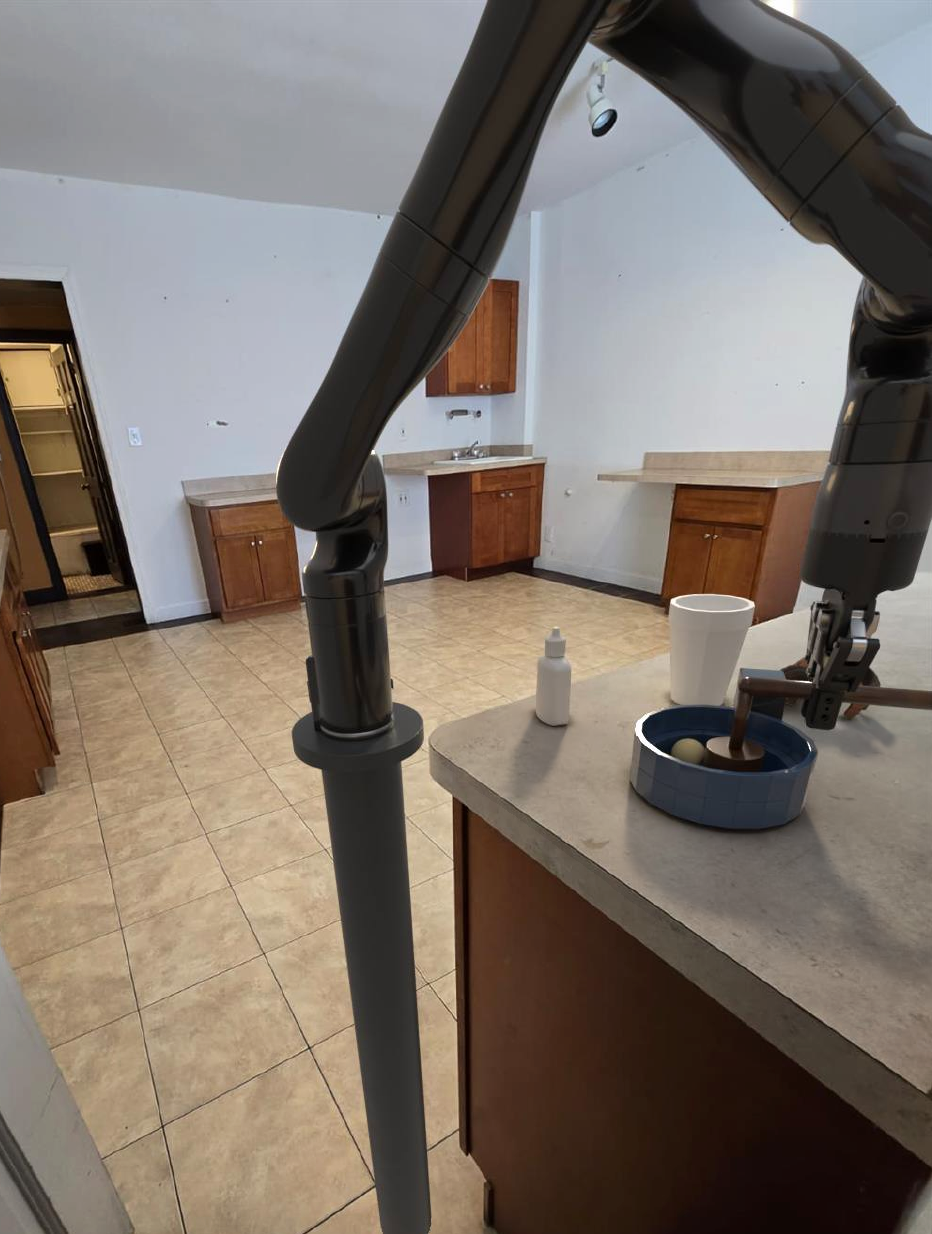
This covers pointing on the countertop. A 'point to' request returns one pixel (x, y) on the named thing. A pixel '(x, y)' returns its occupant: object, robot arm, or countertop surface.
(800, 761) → the bowl
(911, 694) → the ladle
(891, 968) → the countertop surface
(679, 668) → the foam cup
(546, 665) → the eye dropper bottle
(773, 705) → the dark navy cube
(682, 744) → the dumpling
